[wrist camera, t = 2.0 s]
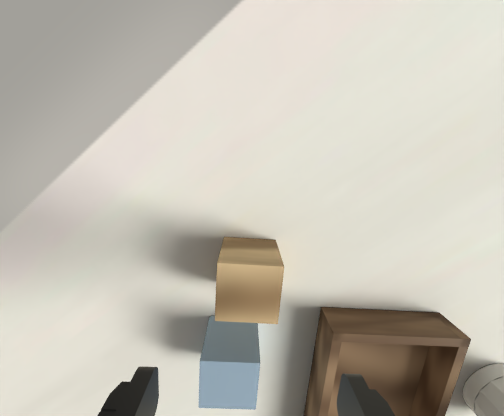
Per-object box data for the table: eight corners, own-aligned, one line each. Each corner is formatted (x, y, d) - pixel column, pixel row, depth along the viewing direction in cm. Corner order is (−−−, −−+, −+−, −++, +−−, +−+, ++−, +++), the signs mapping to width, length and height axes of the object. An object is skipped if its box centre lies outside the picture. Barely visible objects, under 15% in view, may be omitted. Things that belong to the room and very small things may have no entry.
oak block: (224, 236, 21) (217, 262, 16) (275, 239, 21) (284, 266, 16) (222, 282, 22) (214, 321, 17) (270, 285, 22) (277, 324, 17)
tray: (321, 307, 22) (333, 333, 19) (439, 312, 23) (470, 339, 20) (301, 430, 26) (309, 470, 23) (403, 433, 26) (425, 472, 23)
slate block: (210, 315, 22) (199, 360, 17) (257, 317, 22) (260, 363, 18) (208, 354, 23) (198, 407, 19) (253, 356, 24) (255, 409, 19)
